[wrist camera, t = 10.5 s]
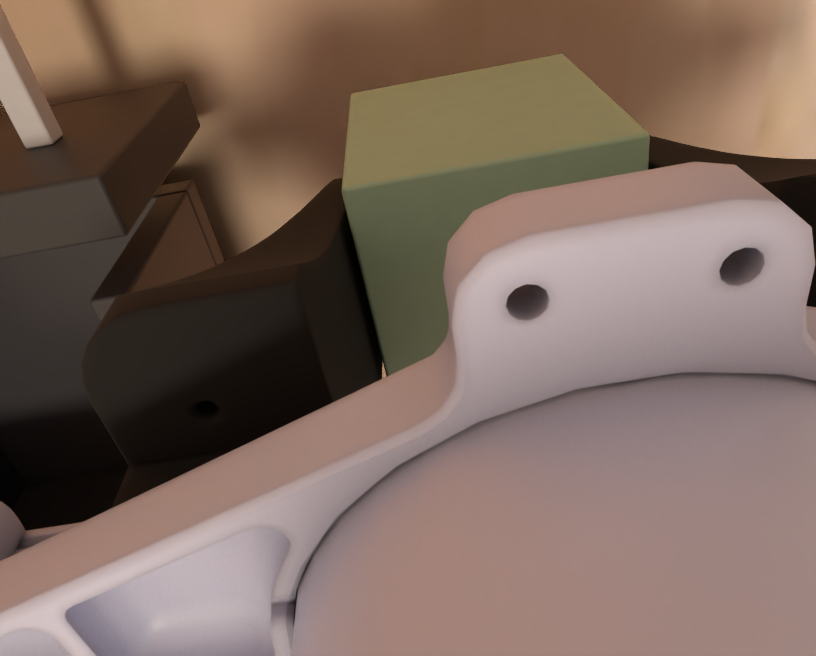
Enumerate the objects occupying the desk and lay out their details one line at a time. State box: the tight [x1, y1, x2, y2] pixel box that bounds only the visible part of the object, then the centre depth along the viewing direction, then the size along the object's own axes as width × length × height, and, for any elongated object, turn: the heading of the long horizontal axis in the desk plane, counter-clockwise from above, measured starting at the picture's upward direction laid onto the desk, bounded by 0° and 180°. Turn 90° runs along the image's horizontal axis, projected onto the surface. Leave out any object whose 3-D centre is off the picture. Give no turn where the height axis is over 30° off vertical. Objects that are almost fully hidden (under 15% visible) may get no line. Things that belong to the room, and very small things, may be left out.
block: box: [342, 54, 650, 376], centre depth 12 cm, size 4×4×5 cm
